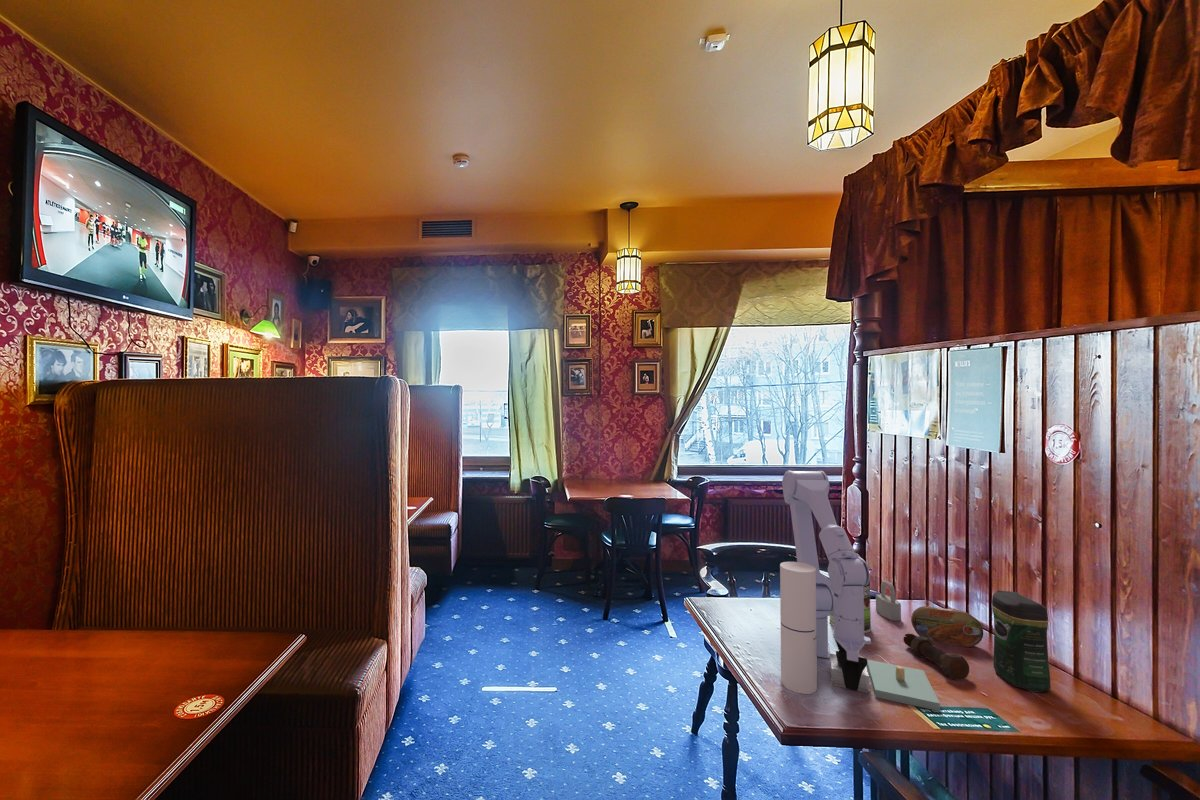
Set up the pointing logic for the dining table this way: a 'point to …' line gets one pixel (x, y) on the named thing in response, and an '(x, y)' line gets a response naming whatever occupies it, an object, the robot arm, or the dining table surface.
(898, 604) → the padlock
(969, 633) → the tin
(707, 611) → the dining table surface
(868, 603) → the coffee can
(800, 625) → the cylindrical container
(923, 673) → the plate
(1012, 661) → the coffee jar
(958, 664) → the bolt
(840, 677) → the grey boxy piece
